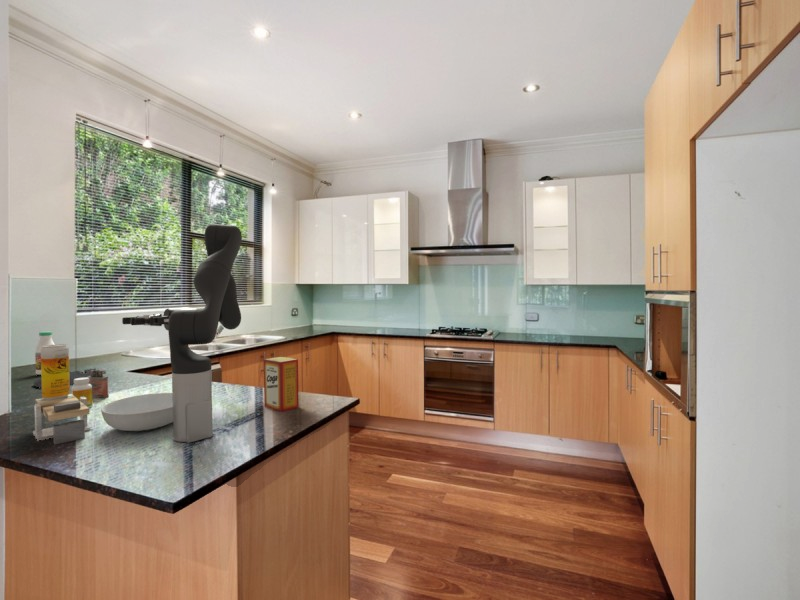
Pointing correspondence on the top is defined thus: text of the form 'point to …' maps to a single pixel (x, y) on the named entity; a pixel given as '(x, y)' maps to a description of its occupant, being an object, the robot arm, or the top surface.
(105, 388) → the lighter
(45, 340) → the milk bottle
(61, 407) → the seesaw
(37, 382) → the dark slate chunk
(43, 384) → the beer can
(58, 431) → the stand
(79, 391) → the supplement bottle
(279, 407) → the baking soda box
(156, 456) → the top surface
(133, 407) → the serving bowl
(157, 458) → the top surface
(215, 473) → the top surface
